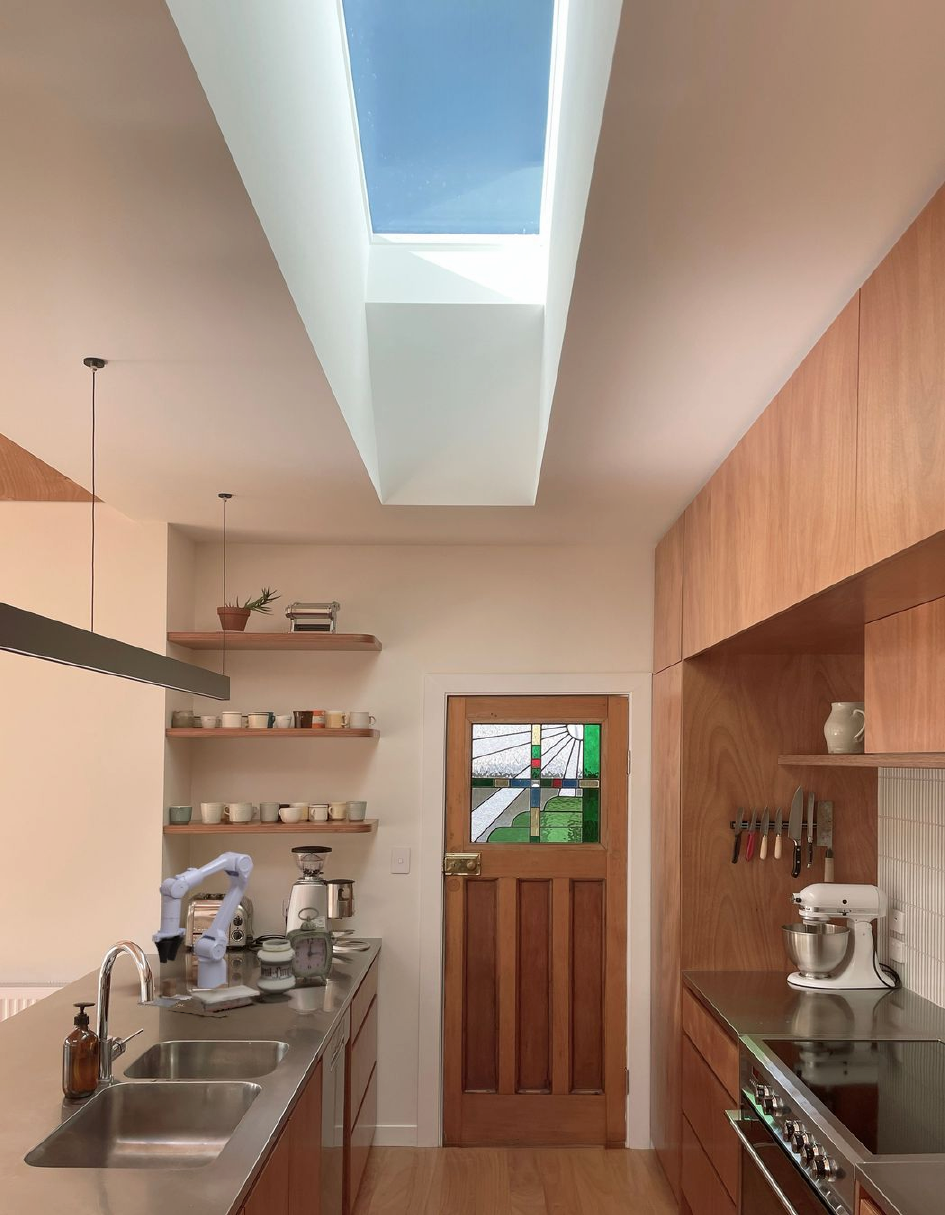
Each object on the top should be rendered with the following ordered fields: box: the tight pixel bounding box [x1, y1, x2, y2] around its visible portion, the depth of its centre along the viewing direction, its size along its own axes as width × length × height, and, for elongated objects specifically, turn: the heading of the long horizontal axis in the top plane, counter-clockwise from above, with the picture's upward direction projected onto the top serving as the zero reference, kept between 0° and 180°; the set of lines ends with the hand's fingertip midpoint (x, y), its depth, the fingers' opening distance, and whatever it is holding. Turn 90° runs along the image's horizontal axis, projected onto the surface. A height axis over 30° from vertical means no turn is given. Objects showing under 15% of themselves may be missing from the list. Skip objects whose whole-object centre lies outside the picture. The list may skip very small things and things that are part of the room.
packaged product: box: [191, 984, 261, 1012], centre depth 324 cm, size 18×5×10 cm
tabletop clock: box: [284, 906, 333, 989], centre depth 352 cm, size 14×9×25 cm, turn 114°
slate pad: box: [136, 997, 180, 1008], centre depth 328 cm, size 6×11×1 cm, turn 69°
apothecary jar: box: [256, 938, 297, 1004], centre depth 333 cm, size 12×12×18 cm
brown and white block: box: [160, 978, 192, 1001], centre depth 335 cm, size 9×4×5 cm, turn 69°
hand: (167, 961), depth 338 cm, fingers open, 3 cm apart
